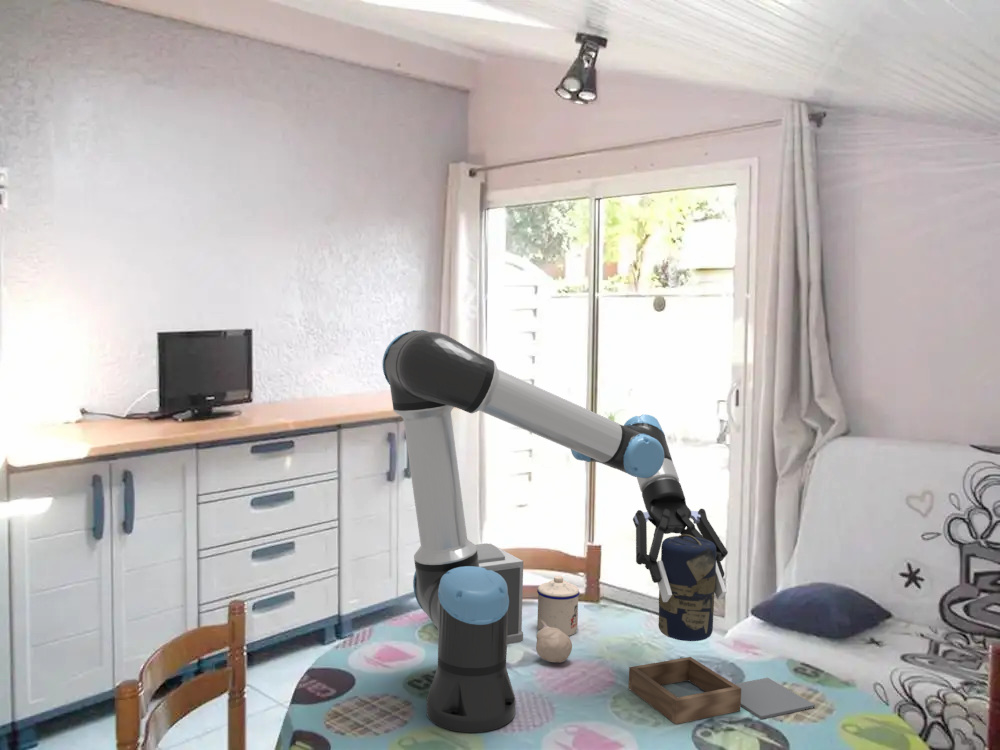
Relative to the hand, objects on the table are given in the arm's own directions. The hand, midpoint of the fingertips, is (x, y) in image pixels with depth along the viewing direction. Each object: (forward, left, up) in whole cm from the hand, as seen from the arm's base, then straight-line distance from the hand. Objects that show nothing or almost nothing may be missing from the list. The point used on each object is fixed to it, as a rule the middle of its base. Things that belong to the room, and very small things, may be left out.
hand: (695, 597), depth 146 cm
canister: (0, +3, -8) cm, 9 cm away
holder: (+1, +3, -20) cm, 20 cm away
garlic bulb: (-13, +26, -20) cm, 35 cm away
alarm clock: (-21, +46, -20) cm, 55 cm away
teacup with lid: (-4, +42, -20) cm, 47 cm away
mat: (+15, -2, -20) cm, 24 cm away
